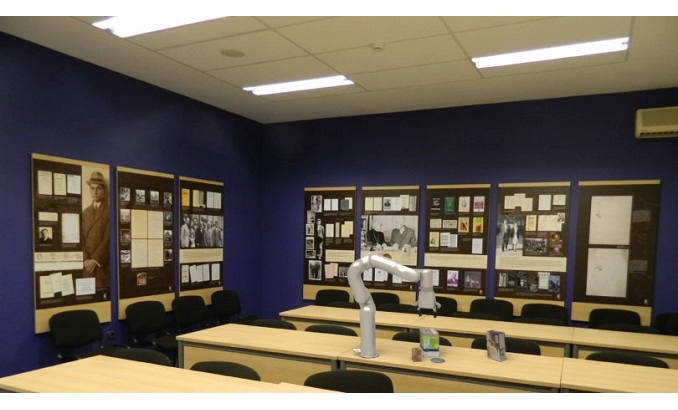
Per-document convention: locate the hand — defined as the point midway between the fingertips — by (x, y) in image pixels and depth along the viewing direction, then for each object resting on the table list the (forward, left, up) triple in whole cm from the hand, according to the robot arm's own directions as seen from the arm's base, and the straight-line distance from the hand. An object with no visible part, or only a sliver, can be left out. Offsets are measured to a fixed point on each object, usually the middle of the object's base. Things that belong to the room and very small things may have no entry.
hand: (427, 317), depth 271 cm
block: (-9, -6, -24) cm, 27 cm away
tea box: (+2, +6, -24) cm, 25 cm away
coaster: (+3, -8, -24) cm, 26 cm away
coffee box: (+39, -7, -24) cm, 47 cm away
